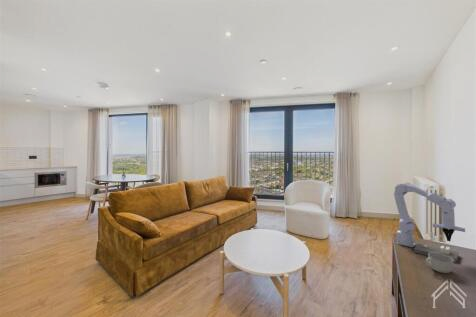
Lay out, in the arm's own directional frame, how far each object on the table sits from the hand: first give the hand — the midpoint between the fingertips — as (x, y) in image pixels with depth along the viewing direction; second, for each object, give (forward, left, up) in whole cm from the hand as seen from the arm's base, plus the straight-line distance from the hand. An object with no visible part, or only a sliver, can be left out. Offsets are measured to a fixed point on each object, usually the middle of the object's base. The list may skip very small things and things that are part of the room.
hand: (448, 240), depth 137 cm
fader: (-2, 0, -8) cm, 8 cm away
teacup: (-2, -24, -11) cm, 26 cm away
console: (-6, 0, -10) cm, 12 cm away
